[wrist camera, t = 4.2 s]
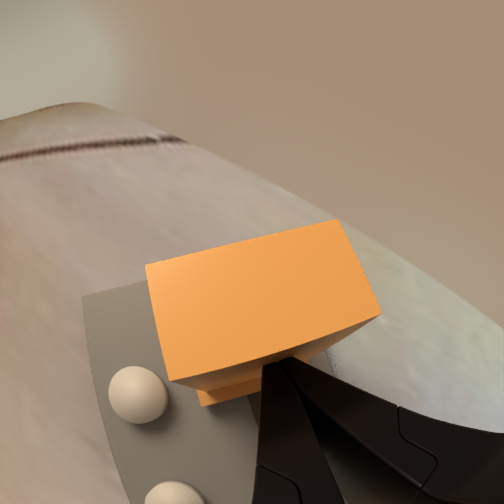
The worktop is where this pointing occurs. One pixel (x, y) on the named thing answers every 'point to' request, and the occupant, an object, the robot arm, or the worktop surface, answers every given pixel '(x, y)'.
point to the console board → (166, 411)
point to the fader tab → (256, 307)
